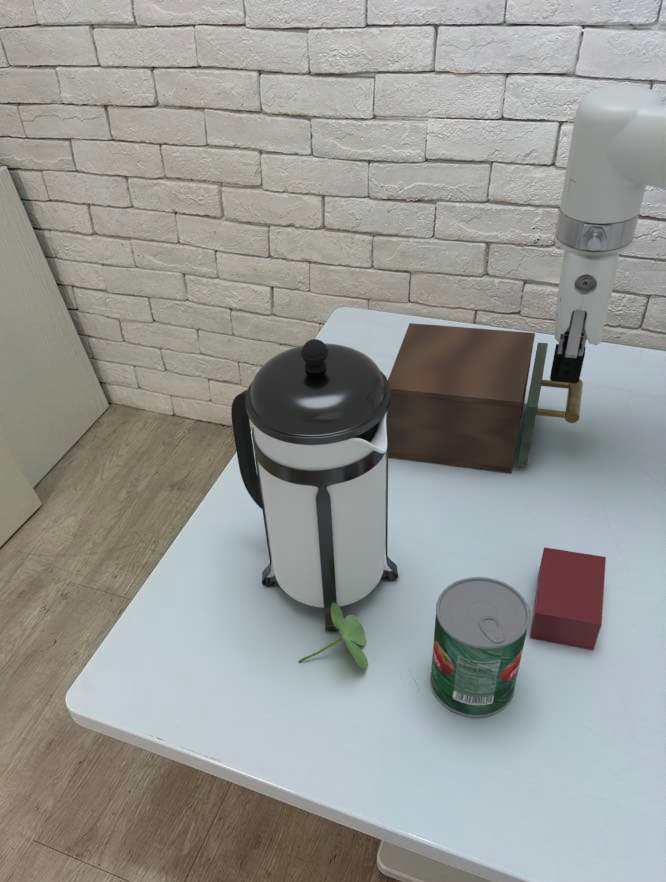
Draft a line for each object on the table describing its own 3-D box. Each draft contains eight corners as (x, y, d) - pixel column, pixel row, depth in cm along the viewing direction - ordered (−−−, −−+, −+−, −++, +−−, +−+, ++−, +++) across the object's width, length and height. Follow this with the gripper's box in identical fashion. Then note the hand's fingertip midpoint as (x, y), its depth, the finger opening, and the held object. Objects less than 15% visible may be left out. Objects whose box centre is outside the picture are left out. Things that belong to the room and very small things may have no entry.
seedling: (329, 680, 85) (381, 652, 82) (308, 705, 77) (365, 675, 75) (294, 622, 85) (344, 592, 83) (269, 641, 78) (324, 609, 75)
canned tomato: (417, 660, 79) (422, 588, 72) (492, 641, 80) (504, 567, 72) (449, 727, 74) (458, 657, 66) (529, 706, 75) (547, 633, 67)
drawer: (576, 405, 103) (589, 346, 97) (569, 472, 95) (582, 411, 89) (427, 390, 109) (430, 333, 103) (407, 451, 101) (409, 393, 94)
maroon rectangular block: (538, 572, 86) (544, 547, 83) (598, 582, 84) (606, 556, 81) (529, 638, 80) (535, 612, 77) (594, 650, 78) (602, 624, 75)
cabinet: (524, 403, 106) (535, 332, 99) (511, 473, 97) (522, 401, 90) (407, 390, 111) (409, 322, 103) (384, 457, 102) (384, 387, 94)
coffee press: (397, 525, 93) (402, 286, 72) (399, 634, 82) (406, 390, 61) (250, 525, 95) (213, 295, 74) (232, 631, 84) (183, 396, 63)
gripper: (634, 263, 75) (595, 420, 88) (636, 196, 85) (601, 347, 98) (550, 258, 77) (524, 412, 90) (562, 193, 87) (537, 341, 100)
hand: (564, 378), depth 94 cm, fingers closed
